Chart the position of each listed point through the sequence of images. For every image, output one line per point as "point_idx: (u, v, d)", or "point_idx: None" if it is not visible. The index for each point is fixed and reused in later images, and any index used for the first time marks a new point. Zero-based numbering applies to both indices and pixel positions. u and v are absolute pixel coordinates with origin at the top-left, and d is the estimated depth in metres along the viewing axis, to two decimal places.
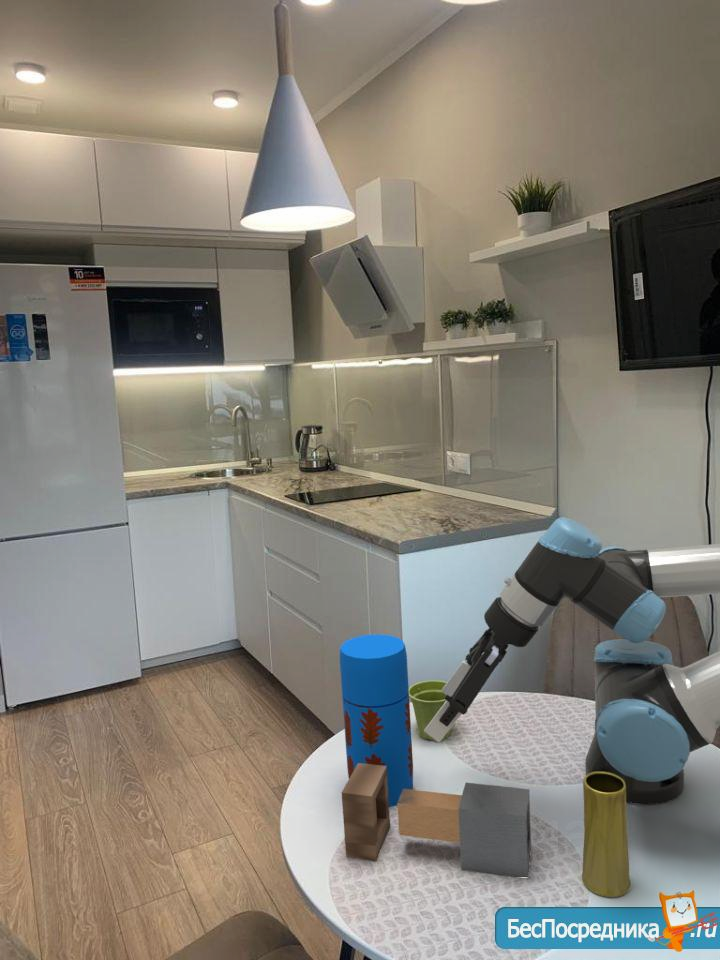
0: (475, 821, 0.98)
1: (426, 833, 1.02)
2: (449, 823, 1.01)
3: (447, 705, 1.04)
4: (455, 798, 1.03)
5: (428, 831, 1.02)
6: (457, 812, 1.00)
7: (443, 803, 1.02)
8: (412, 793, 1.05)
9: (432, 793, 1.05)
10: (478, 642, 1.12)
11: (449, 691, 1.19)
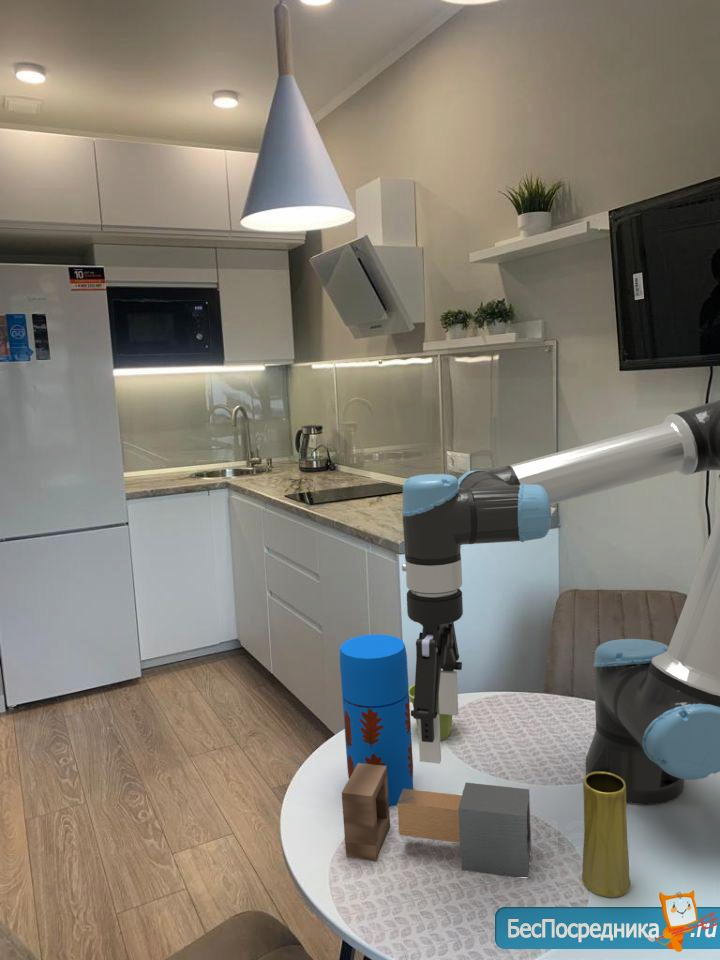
0: (475, 821, 0.98)
1: (426, 833, 1.02)
2: (449, 823, 1.01)
3: (421, 721, 0.94)
4: (455, 798, 1.03)
5: (428, 831, 1.02)
6: (457, 812, 1.00)
7: (443, 803, 1.02)
8: (412, 793, 1.05)
9: (432, 793, 1.05)
10: None
11: (446, 709, 1.07)
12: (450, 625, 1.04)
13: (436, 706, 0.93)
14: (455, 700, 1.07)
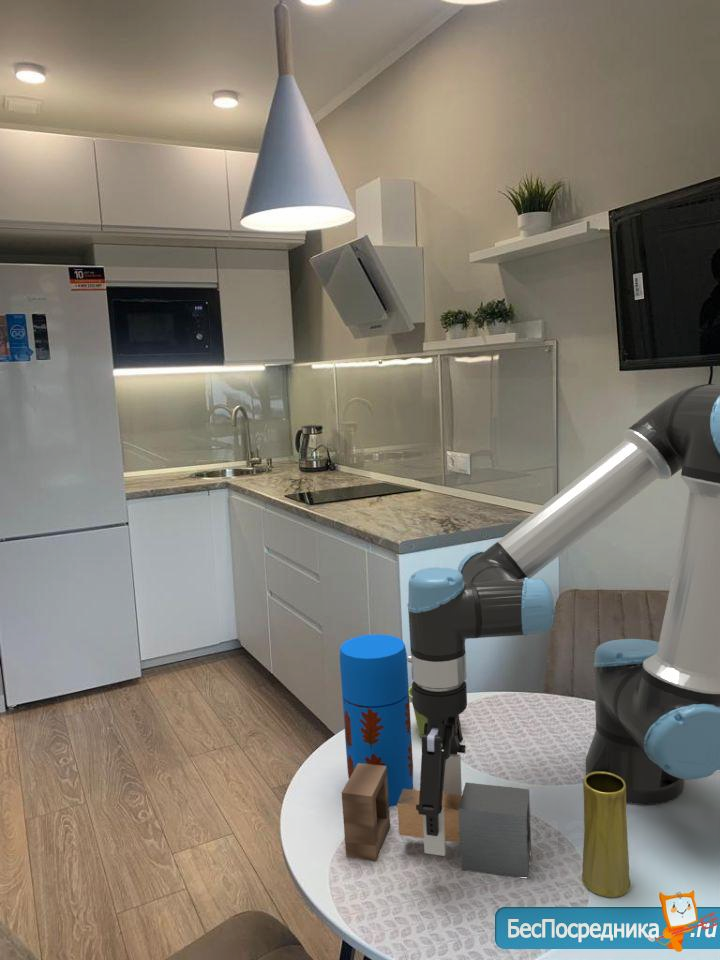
0: (475, 821, 0.98)
1: None
2: (449, 823, 1.01)
3: None
4: (455, 798, 1.03)
5: None
6: (457, 812, 1.00)
7: (443, 803, 1.02)
8: (412, 793, 1.05)
9: None
10: None
11: (450, 791, 1.09)
12: None
13: (441, 800, 0.95)
14: (459, 783, 1.08)
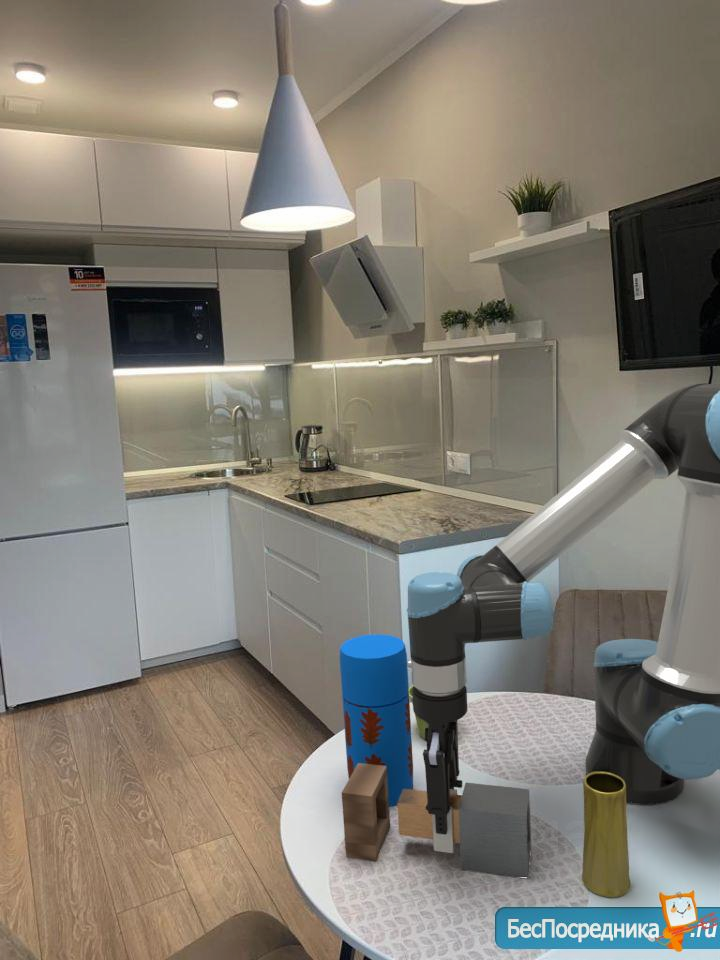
0: (475, 821, 0.98)
1: (426, 833, 1.02)
2: None
3: None
4: (455, 798, 1.03)
5: (428, 831, 1.02)
6: (457, 812, 1.00)
7: None
8: (412, 793, 1.05)
9: None
10: None
11: None
12: None
13: (448, 801, 0.99)
14: None
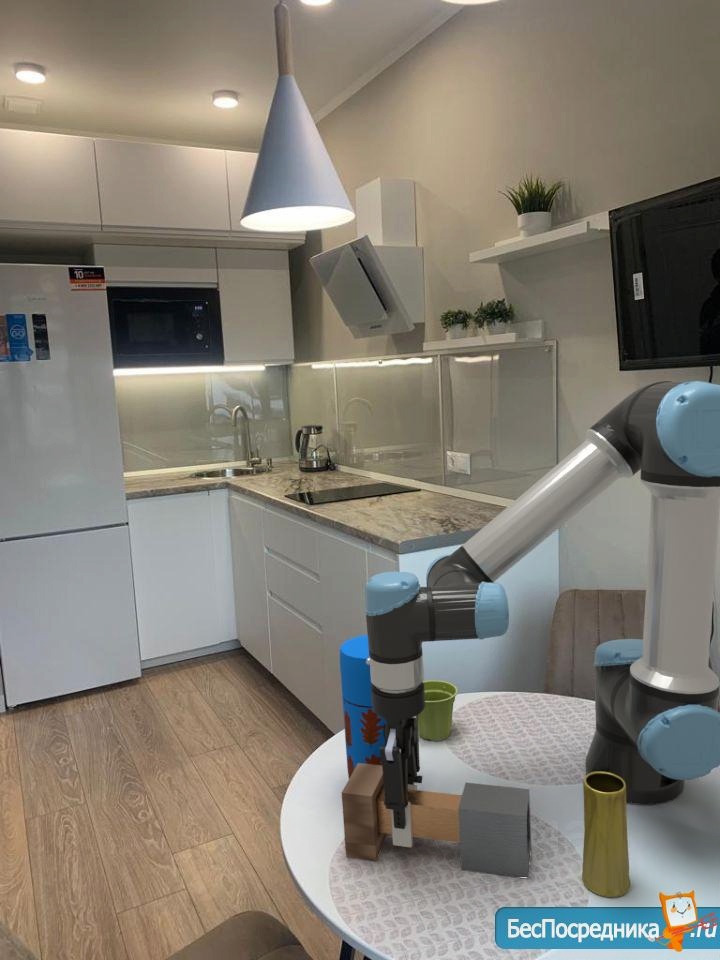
0: (475, 821, 0.98)
1: (385, 828, 1.04)
2: None
3: None
4: (414, 793, 1.05)
5: (388, 826, 1.04)
6: (415, 807, 1.02)
7: None
8: None
9: None
10: None
11: None
12: None
13: (406, 796, 1.01)
14: None
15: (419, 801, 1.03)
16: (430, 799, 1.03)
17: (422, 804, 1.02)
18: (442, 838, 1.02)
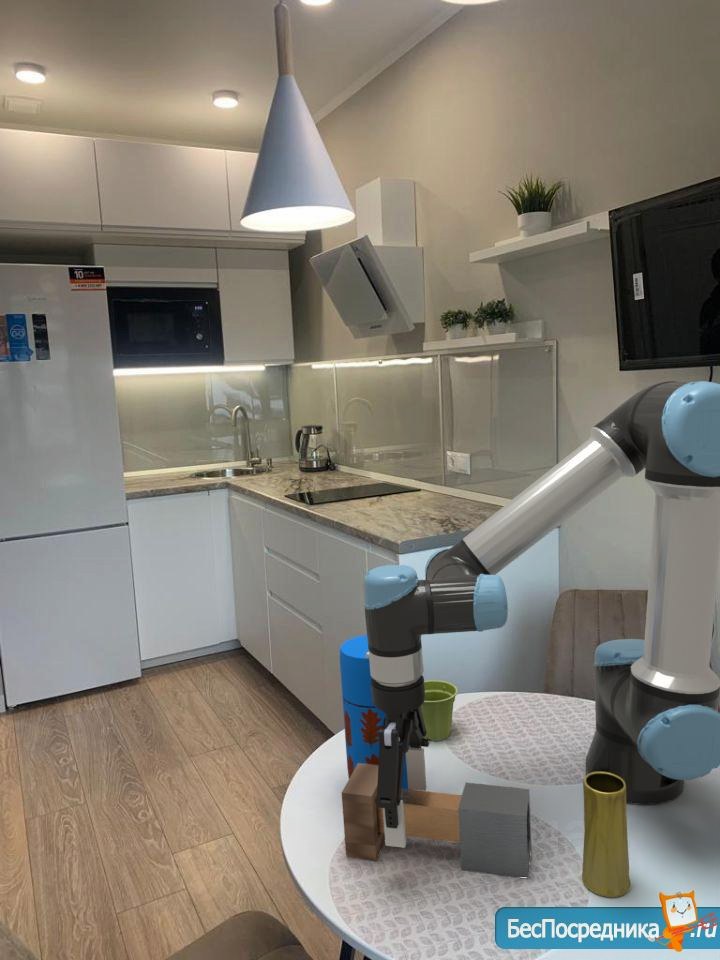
0: (475, 821, 0.98)
1: None
2: (408, 818, 1.03)
3: None
4: (414, 793, 1.05)
5: None
6: (415, 807, 1.02)
7: (401, 798, 1.04)
8: None
9: None
10: None
11: (414, 784, 1.11)
12: None
13: (399, 793, 0.97)
14: (423, 776, 1.10)
15: (419, 801, 1.03)
16: (429, 799, 1.03)
17: (421, 804, 1.02)
18: (442, 838, 1.02)
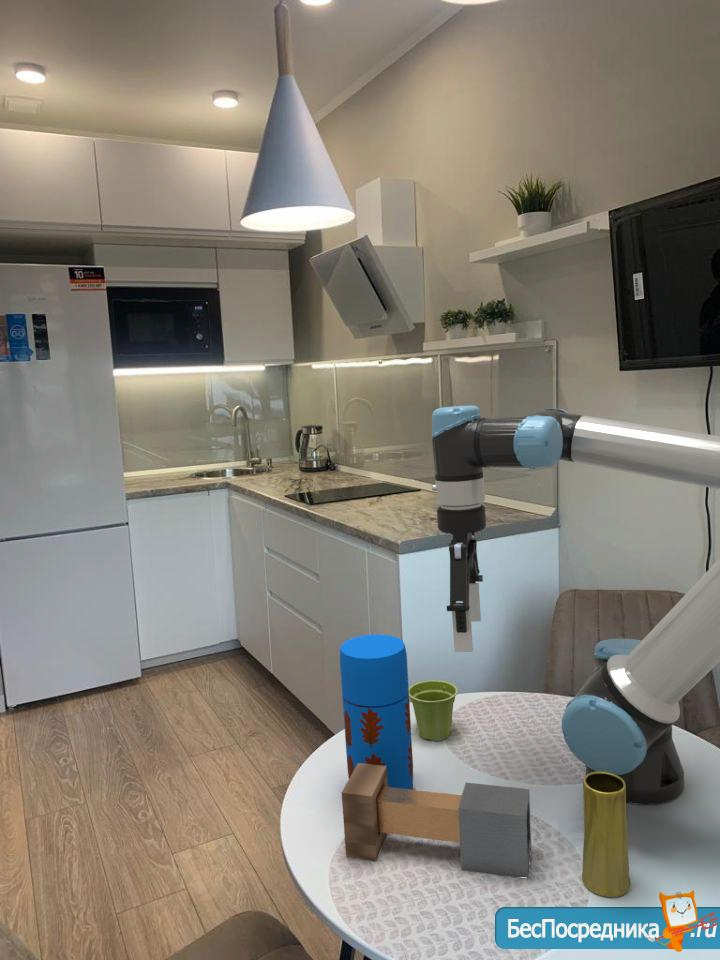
0: (475, 821, 0.98)
1: (385, 828, 1.04)
2: (408, 818, 1.03)
3: (455, 615, 1.09)
4: (414, 793, 1.05)
5: (387, 826, 1.04)
6: (415, 807, 1.02)
7: (401, 798, 1.04)
8: None
9: (392, 788, 1.06)
10: None
11: (470, 616, 1.22)
12: None
13: (468, 601, 1.08)
14: (478, 608, 1.22)
15: (419, 801, 1.03)
16: (429, 799, 1.03)
17: (421, 804, 1.02)
18: (442, 838, 1.02)
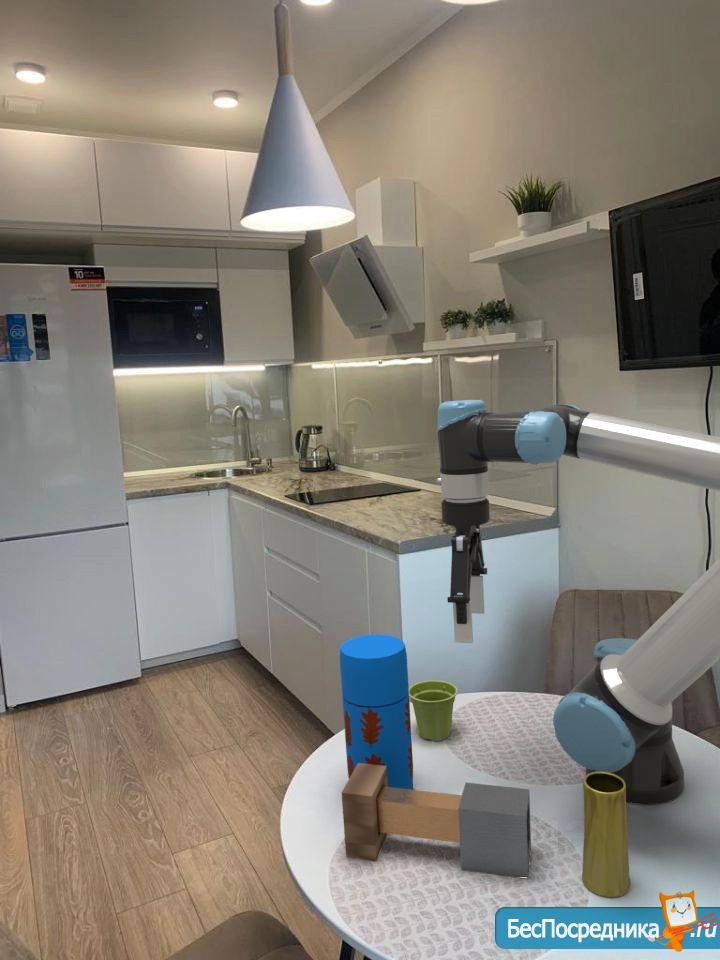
0: (475, 821, 0.98)
1: (385, 828, 1.04)
2: (408, 818, 1.03)
3: (455, 607, 1.11)
4: (414, 793, 1.05)
5: (387, 826, 1.04)
6: (415, 807, 1.02)
7: (401, 798, 1.04)
8: None
9: (392, 788, 1.06)
10: None
11: (474, 608, 1.24)
12: None
13: (469, 593, 1.09)
14: (482, 600, 1.23)
15: (419, 801, 1.03)
16: (429, 799, 1.03)
17: (421, 804, 1.02)
18: (442, 838, 1.02)
